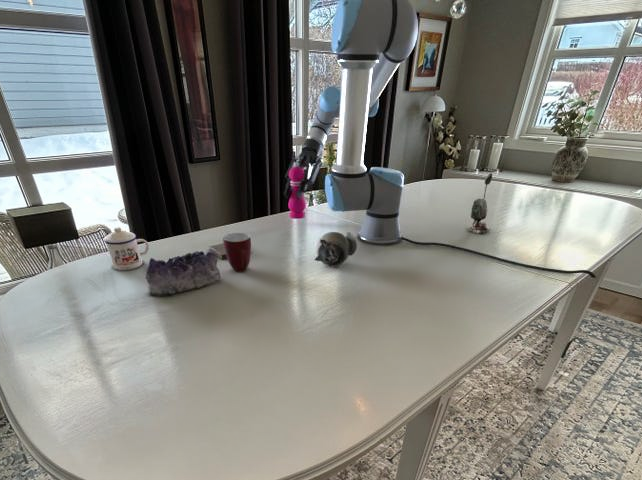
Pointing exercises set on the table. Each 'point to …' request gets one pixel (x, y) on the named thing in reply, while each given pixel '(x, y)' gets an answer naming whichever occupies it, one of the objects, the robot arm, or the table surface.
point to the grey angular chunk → (218, 250)
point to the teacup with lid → (124, 249)
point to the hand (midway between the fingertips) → (291, 197)
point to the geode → (182, 273)
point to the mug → (238, 250)
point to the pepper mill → (295, 204)
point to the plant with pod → (480, 211)
